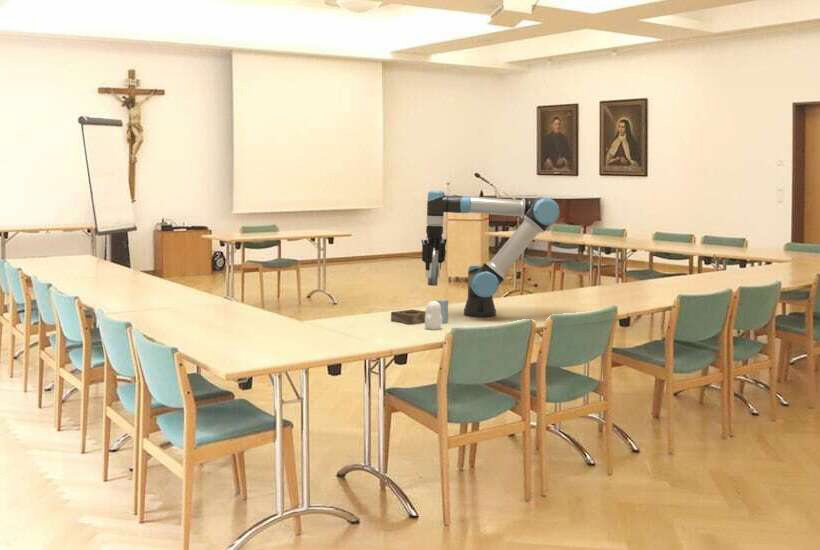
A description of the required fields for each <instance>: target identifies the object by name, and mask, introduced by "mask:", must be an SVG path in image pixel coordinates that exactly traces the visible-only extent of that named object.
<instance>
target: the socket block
mask: <svg viewBox="0 0 820 550" xmlns="http://www.w3.org/2000/svg"><path fill="white" fill-rule="evenodd" d="M425 314H426V310H419V309H413V308H411V309H405V310H398V311H391V312H390V321H391V322H395V323H400V324H404V323H405V325H409V324H410V326H411V325H412V324H413V325H418V324H425ZM413 325H412V326H413Z"/></svg>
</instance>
